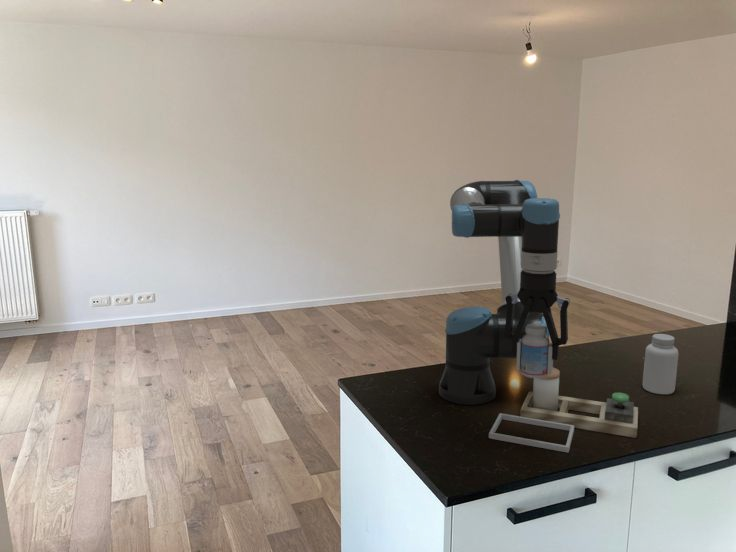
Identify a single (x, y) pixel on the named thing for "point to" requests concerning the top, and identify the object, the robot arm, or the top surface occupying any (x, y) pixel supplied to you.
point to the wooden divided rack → (608, 421)
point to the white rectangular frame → (529, 441)
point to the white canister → (546, 391)
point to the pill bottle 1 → (534, 351)
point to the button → (620, 399)
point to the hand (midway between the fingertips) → (534, 370)
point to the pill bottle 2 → (660, 365)
